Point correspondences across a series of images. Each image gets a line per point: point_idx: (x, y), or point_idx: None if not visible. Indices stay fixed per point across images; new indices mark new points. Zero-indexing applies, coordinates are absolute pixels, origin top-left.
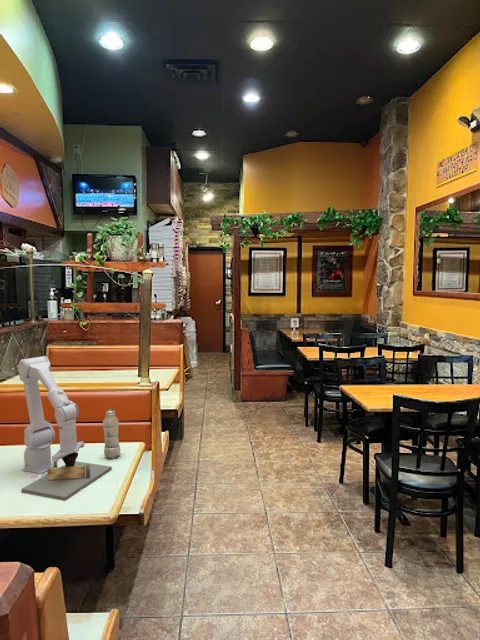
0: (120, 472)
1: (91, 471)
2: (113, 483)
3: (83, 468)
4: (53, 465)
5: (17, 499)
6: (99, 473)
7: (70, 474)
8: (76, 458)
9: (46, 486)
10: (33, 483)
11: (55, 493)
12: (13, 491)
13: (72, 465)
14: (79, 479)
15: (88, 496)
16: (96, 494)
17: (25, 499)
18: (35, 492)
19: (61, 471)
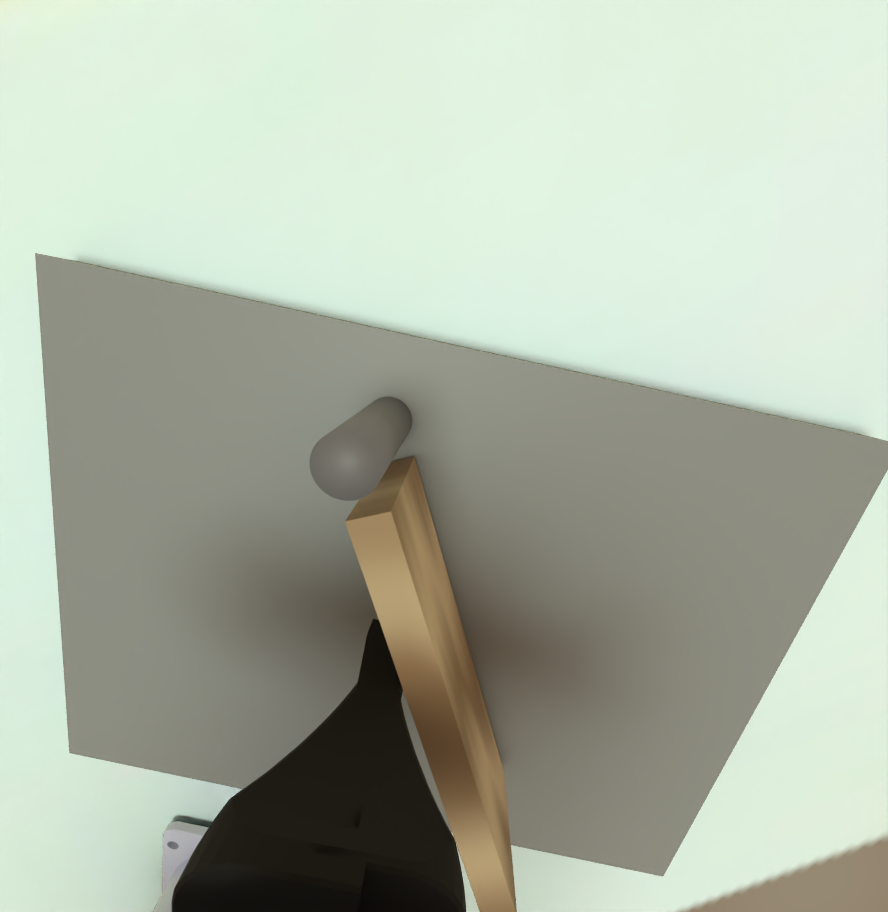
0: (106, 86)
1: (236, 457)
2: (430, 18)
3: (398, 509)
4: (192, 841)
5: (769, 816)
6: (262, 328)
7: (452, 625)
8: (288, 757)
9: (623, 727)
10: (562, 840)
11: (789, 585)
12: (633, 889)
13: (397, 699)
14: (454, 495)
15: (792, 207)
16: (748, 119)
17: (777, 768)
18: (719, 757)
19: (478, 748)
